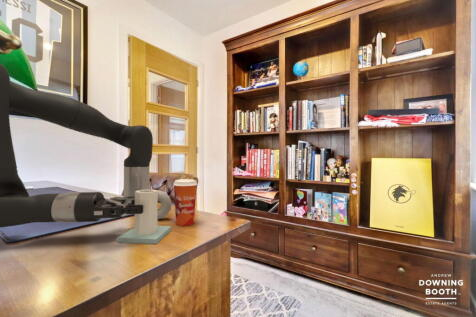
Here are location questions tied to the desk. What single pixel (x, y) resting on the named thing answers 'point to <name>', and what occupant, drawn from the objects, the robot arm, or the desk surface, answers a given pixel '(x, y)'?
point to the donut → (163, 204)
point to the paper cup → (185, 201)
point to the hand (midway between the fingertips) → (146, 205)
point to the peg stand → (144, 236)
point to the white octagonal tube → (146, 212)
